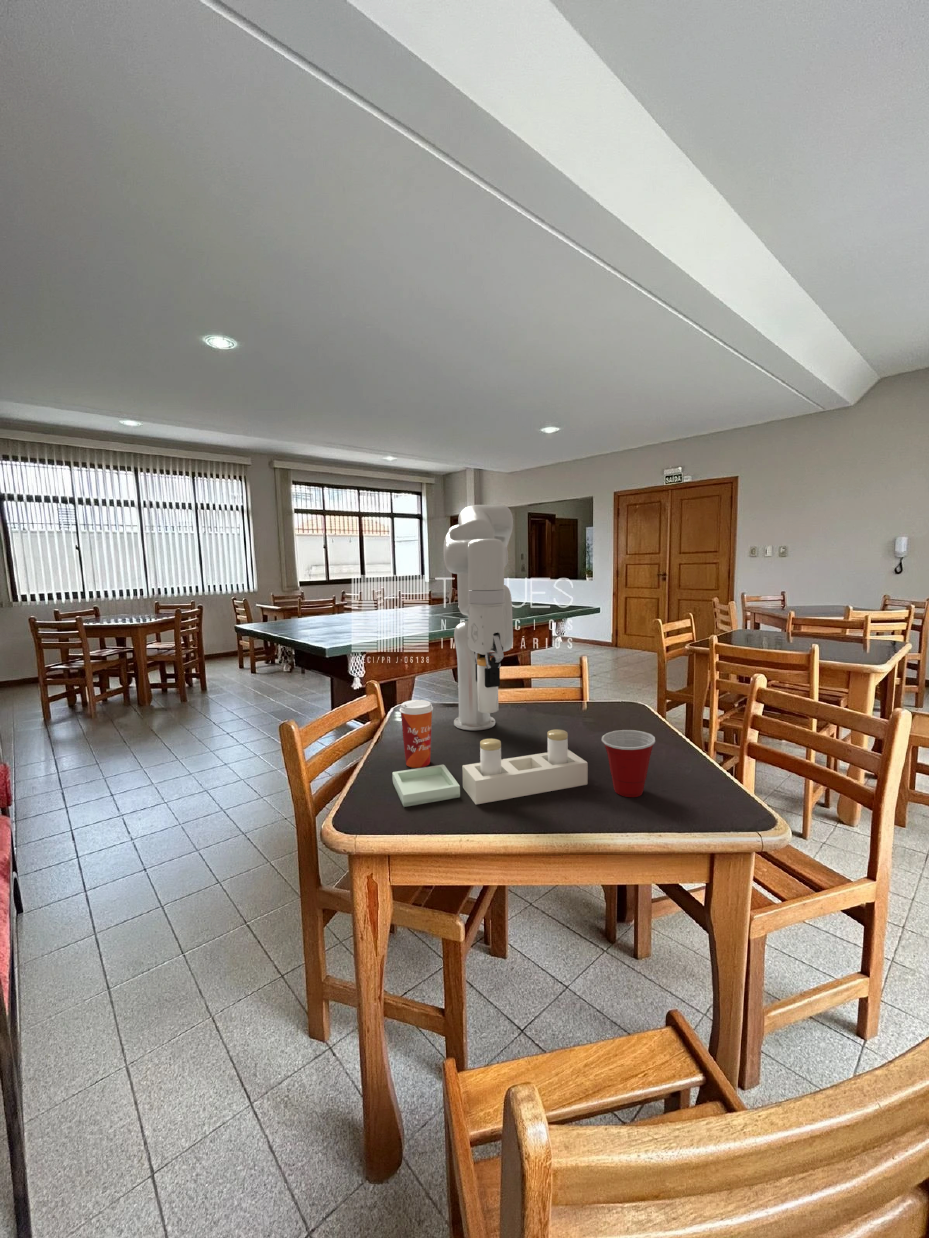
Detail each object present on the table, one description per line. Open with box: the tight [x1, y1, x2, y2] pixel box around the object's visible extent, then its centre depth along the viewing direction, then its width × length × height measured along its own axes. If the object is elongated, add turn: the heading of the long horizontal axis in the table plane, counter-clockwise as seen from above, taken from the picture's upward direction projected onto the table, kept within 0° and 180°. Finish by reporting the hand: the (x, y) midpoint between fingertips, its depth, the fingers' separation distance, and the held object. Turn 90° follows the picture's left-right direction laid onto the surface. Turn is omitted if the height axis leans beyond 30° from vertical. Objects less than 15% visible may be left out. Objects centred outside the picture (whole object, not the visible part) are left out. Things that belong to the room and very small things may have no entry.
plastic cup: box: [601, 729, 656, 798], centre depth 106 cm, size 11×11×12 cm
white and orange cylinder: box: [477, 657, 499, 714], centre depth 107 cm, size 4×4×11 cm
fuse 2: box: [546, 729, 569, 765], centre depth 112 cm, size 4×4×11 cm
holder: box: [462, 749, 589, 805], centre depth 110 cm, size 8×26×5 cm, turn 109°
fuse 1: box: [479, 738, 502, 777], centre depth 107 cm, size 4×4×11 cm
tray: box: [391, 764, 461, 808], centre depth 109 cm, size 12×12×2 cm
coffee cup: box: [399, 699, 434, 769], centre depth 123 cm, size 8×8×15 cm
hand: (487, 683), depth 107 cm, fingers closed on white and orange cylinder, 4 cm apart
